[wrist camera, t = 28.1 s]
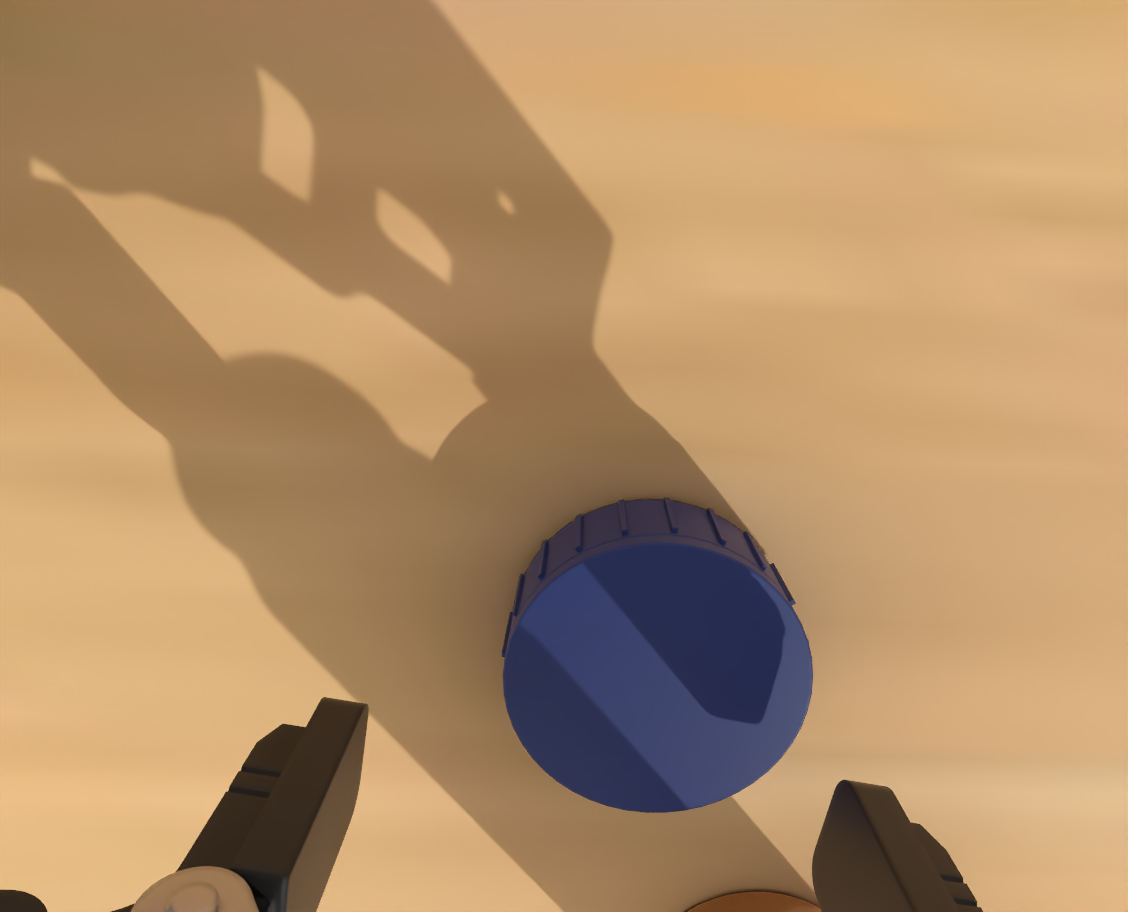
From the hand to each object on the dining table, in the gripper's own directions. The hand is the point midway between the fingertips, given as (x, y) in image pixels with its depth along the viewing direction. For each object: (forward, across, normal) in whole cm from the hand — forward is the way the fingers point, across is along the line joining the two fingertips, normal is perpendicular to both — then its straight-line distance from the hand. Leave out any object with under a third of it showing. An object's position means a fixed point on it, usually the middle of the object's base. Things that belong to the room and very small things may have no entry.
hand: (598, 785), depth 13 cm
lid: (+2, +1, +1) cm, 3 cm away
